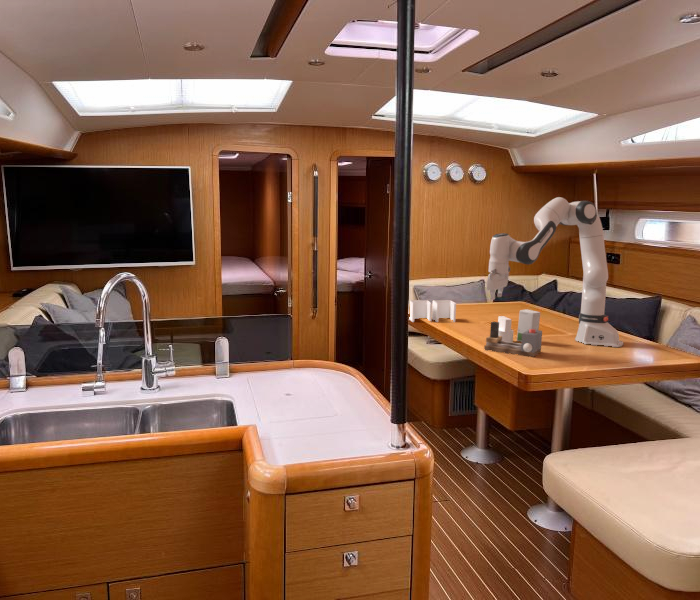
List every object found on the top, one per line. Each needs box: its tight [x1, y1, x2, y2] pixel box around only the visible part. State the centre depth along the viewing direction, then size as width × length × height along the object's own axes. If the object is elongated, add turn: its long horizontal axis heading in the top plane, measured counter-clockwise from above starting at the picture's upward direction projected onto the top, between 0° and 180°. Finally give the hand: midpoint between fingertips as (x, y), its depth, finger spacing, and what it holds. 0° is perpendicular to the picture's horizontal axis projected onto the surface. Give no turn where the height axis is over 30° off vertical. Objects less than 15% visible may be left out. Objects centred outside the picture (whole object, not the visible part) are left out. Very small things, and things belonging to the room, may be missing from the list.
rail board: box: [483, 341, 542, 358], centre depth 290 cm, size 23×12×3 cm, turn 59°
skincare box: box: [516, 308, 541, 342], centre depth 309 cm, size 8×7×16 cm
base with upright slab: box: [497, 315, 514, 343], centre depth 308 cm, size 9×9×12 cm
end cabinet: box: [520, 330, 543, 357], centre depth 285 cm, size 6×12×10 cm, turn 149°
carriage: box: [485, 321, 502, 343], centre depth 293 cm, size 5×8×9 cm, turn 149°
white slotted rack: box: [408, 299, 457, 323], centre depth 360 cm, size 25×11×11 cm, turn 97°
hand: (496, 298), depth 291 cm, fingers open, 8 cm apart
